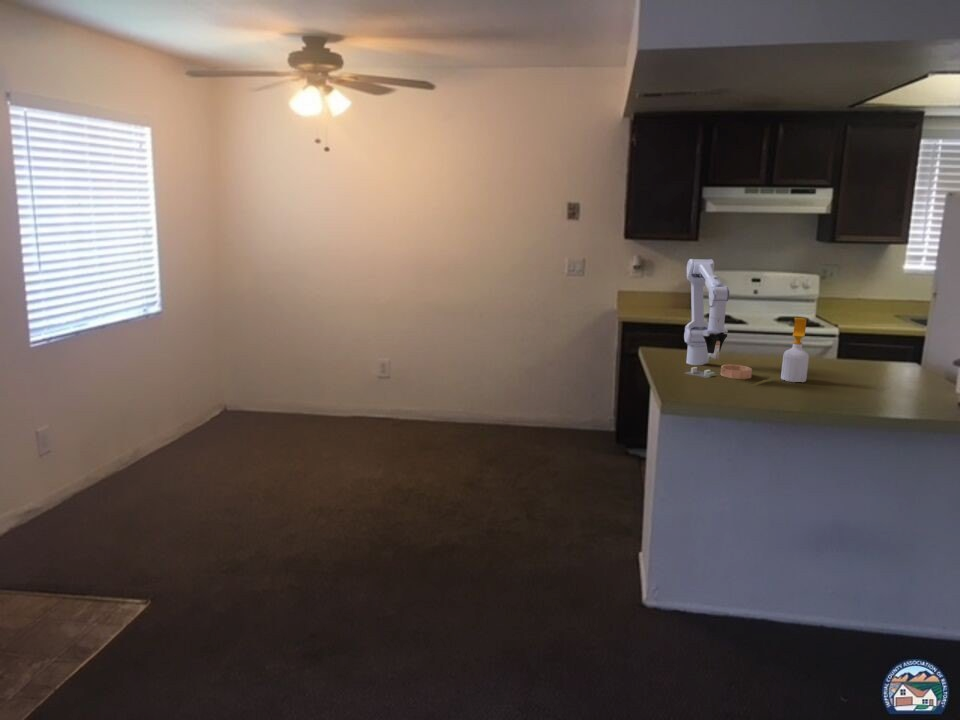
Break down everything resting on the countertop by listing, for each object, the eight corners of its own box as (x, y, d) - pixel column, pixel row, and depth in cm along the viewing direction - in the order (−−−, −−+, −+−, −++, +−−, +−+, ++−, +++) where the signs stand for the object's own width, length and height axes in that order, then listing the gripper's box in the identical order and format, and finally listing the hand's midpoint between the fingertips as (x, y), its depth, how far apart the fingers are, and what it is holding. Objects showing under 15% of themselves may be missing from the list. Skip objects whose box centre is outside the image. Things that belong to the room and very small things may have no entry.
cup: (729, 373, 289) (730, 363, 289) (756, 378, 281) (757, 368, 281) (714, 377, 282) (715, 367, 281) (741, 382, 274) (742, 372, 273)
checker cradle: (694, 372, 289) (695, 365, 289) (717, 377, 282) (717, 369, 281) (683, 375, 284) (683, 368, 283) (706, 380, 277) (706, 372, 276)
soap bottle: (779, 381, 278) (786, 317, 273) (782, 376, 286) (789, 314, 281) (804, 384, 274) (812, 320, 269) (806, 379, 282) (814, 316, 277)
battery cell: (711, 357, 284) (712, 339, 282) (720, 358, 281) (722, 341, 279) (705, 358, 281) (707, 340, 280) (715, 360, 278) (716, 342, 277)
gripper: (716, 320, 270) (713, 356, 273) (736, 317, 279) (732, 351, 282) (699, 318, 275) (696, 353, 278) (719, 315, 284) (716, 349, 287)
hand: (713, 352), depth 280 cm, fingers closed on battery cell, 4 cm apart
